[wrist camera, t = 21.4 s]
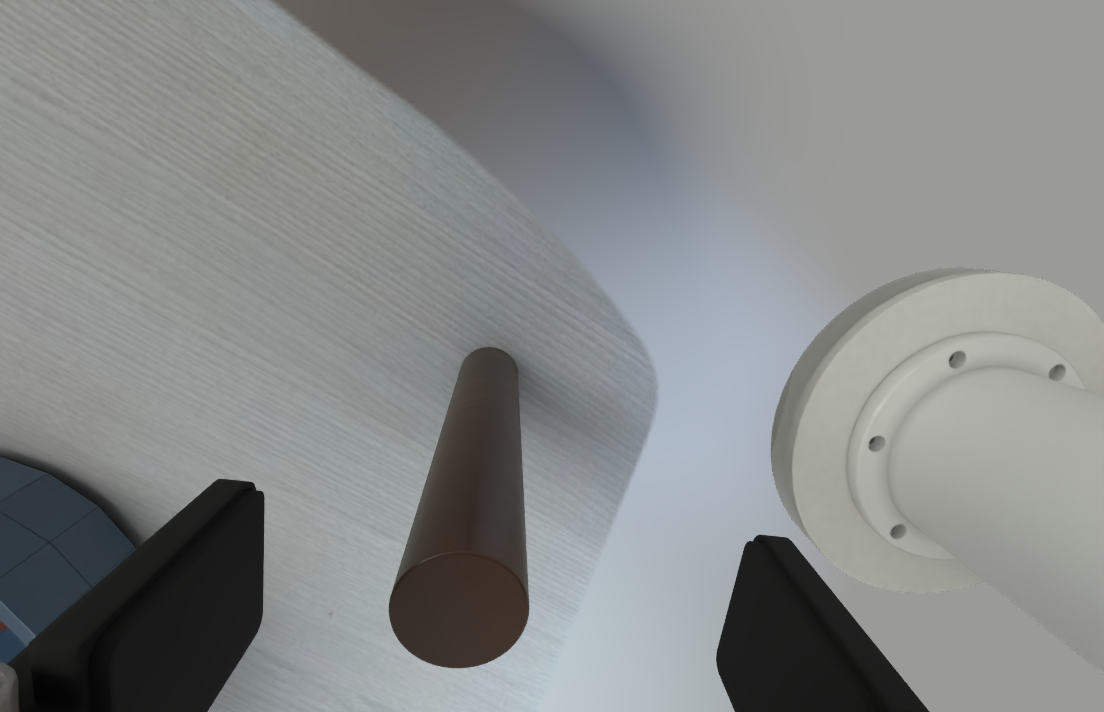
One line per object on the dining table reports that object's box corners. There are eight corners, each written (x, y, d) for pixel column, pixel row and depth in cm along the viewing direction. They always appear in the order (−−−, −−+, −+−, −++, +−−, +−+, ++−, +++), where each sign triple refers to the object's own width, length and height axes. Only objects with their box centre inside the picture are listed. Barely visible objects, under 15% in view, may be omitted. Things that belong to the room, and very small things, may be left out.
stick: (521, 351, 24) (539, 559, 10) (513, 405, 25) (518, 674, 11) (463, 343, 24) (394, 545, 10) (456, 398, 25) (382, 664, 10)
